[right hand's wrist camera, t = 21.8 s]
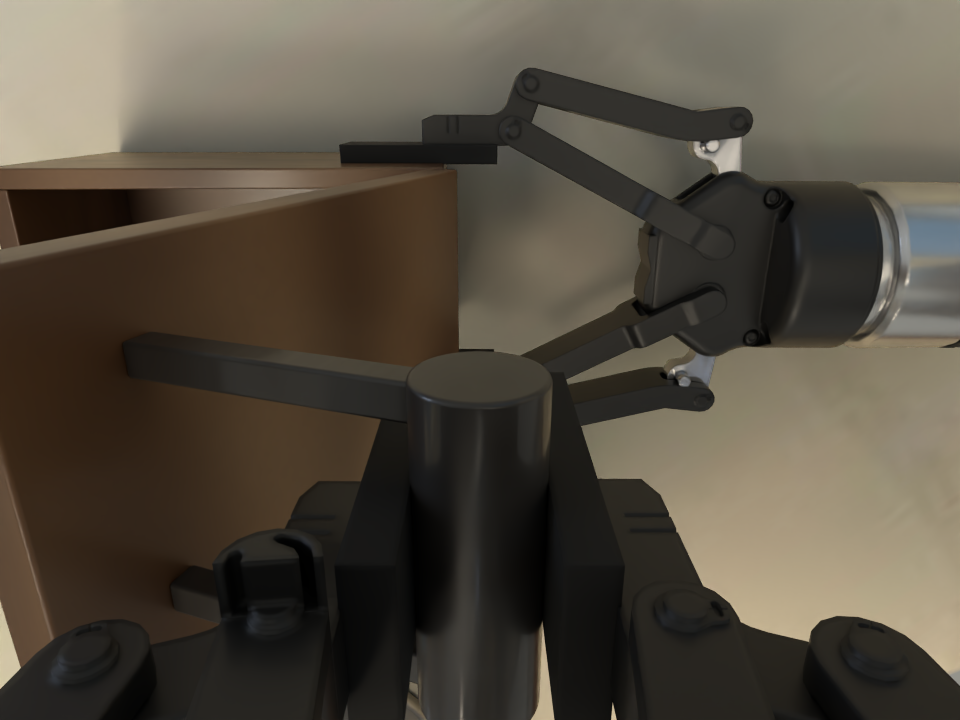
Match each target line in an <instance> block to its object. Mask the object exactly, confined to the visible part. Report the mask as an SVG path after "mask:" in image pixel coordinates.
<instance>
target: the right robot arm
mask: <svg viewBox="0 0 960 720" xmlns="http://www.w3.org/2000/svg"><path fill="white" fill-rule="evenodd" d="M549 373H550V374H551V377H552V380H553V392H552V415H551V438H550V461H549V481H548V504H547V527H546V551H545V574H544V598H543V629H544V637H545V645H546V654H547V662H548V670H549V678H550V686H551V695H552V703H553V711H554V719H555V720H611V714H612V703H613V705H614V710H615V714H616V718H617V720H960V686H959V685H958V684H957V683H956V682H955V681H954V680H953V679H952V678H951V677H950V676H949V675H948V674H947V673H946V672H945V671H944V670H943V669H942V668H941V667H940V666H939V665H938V664H937V663H936V662H935V661H934V660H933V659H932V658H931V657H930V656H929V655H928V654H927V653H926V652H925V651H924V650H923V649H922V648H921V647H919V646H918V645H917V644H915V643H914V642H913V641H912V640H910V639H909V638H908V637H907V636H905V635H903V634H901V633H899V632H897V631H895V630H893V629H891V628H889V627H887V626H885V625H883V624H881V623H878V622H874V621H870V620H867V619H863V618H860V617H845V616H836V617H832V618H829V619H825V620H822V621H820V622H819V623H818V624H817V625H816V626H815V627H814V629H813V630H812V631H811V635H810V639H809V642H807V641H802V640H798V639H794V638H790V637H785V636H781V635H777V634H772V633H768V632H765V631H762V630H759V629H755V628H752V627H750V626H748V625H745V624H743V623H741V622H740V619H739V617H738V616H737V614H736V612H735V611H734V609H733V608H732V606H731V605H730V603H729V602H727V601H726V600H725V599H724V598H722V597H721V596H720V595H719V594H717V593H716V592H715V591H712V590H710V589H708V588H706V587H703V585H702V583H701V581H700V579H699V576H698V574H697V572H696V570H695V568H694V566H693V564H692V561H691V559H690V557H689V555H688V553H687V551H686V549H685V547H684V544H683V542H682V540H681V538H680V536H679V534H678V532H676V527H675V525H674V523H673V521H672V519H671V517H669V512H668V510H667V508H666V506H665V504H664V502H663V500H662V497H661V495H660V494H659V493H657V492H656V491H655V490H654V489H653V488H651V487H650V486H649V485H648V484H647V483H645V482H644V481H643V480H642V479H597V476H596V472H595V469H594V466H593V463H592V460H591V457H590V454H589V450H588V447H587V444H586V441H585V438H584V435H583V432H582V428H581V425H580V422H579V419H578V416H577V413H576V410H575V407H574V403H573V400H572V397H571V394H570V391H569V388H568V385H567V381H566V378H565V375H564V372H549ZM212 567H213V573H214V579H215V584H216V590H217V596H218V602H219V608H220V614H221V621H220V623H219V625H218V626H216V627H213V628H211V629H209V630H207V631H203V632H200V633H197V634H194V635H190V636H186V637H182V638H177V639H173V640H169V641H165V642H160V643H156V644H152V645H151V643H150V638H149V634H148V633H147V632H146V631H145V629H144V628H143V627H142V626H141V625H140V624H138V623H135V622H132V621H128V620H125V619H112V620H100V621H96V622H93V623H89V624H86V625H82V626H78V627H76V628H74V629H72V630H70V631H68V632H66V633H64V634H62V635H60V636H58V637H56V638H55V639H53V640H52V641H51V642H50V643H48V644H47V645H46V646H45V647H43V648H42V649H41V650H39V651H38V652H37V653H36V654H35V655H34V656H33V657H32V658H31V659H30V660H29V661H28V662H27V663H26V664H25V665H24V666H23V667H22V668H21V669H20V670H19V671H18V672H17V673H16V674H15V675H14V676H13V677H12V678H11V679H10V680H9V681H8V682H7V683H6V684H5V685H4V686H3V687H2V688H1V689H0V720H343V719H344V714H345V710H346V705H347V710H348V720H405V714H406V706H407V698H408V690H409V681H410V673H411V665H412V657H413V649H414V641H415V632H416V612H415V587H414V563H413V539H412V514H411V490H410V481H409V456H408V431H407V424H405V423H399V422H393V421H387V420H380V424H379V427H378V430H377V433H376V436H375V439H374V442H373V446H372V449H371V452H370V455H369V458H368V461H367V464H366V467H365V471H364V474H363V477H362V480H361V481H318V482H317V483H316V484H314V485H313V486H312V487H311V488H310V489H308V490H307V491H306V492H305V493H304V494H302V495H301V496H300V497H299V499H298V501H297V503H296V505H295V507H294V510H293V512H292V514H291V519H289V520H288V522H287V525H286V527H285V529H281V528H277V529H271V530H265V531H259V532H255V533H253V534H250V535H248V536H245V537H242V538H240V539H237V540H236V541H235V542H233V543H232V544H230V545H229V546H227V547H226V548H224V549H223V550H222V551H221V552H220V553H219V555H218V556H217V557H216V559H215V560H214V562H213V563H212Z"/></svg>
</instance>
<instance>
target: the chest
mask: <svg viewBox="0 0 960 720" xmlns="http://www.w3.org/2000/svg"><path fill="white" fill-rule="evenodd" d="M427 169H447V164H443V163H341V161H340V152H112V153H104V154H96V155H87V156H79V157H71V158H63V159H54V160H46V161H38V162H30V163H22V164H13V165H5V166H0V246H1V249H6V248H11V247H16V246H22V245H27V244H32V243H38V242H43V241H48V240H54V239H59V238H64V237H70V236H75V235H80V234H86V233H91V232H96V231H102V230H107V229H113V228H118V227H123V226H129V225H134V224H139V223H145V222H150V221H155V220H161V219H166V218H171V217H177V216H182V215H187V214H193V213H198V212H203V211H209V210H214V209H219V208H225V207H230V206H235V205H241V204H246V203H251V202H257V201H262V200H267V199H273V198H278V197H283V196H289V195H294V194H299V193H305V192H310V191H315V190H321V189H326V188H331V187H337V186H342V185H347V184H353V183H358V182H363V181H369V180H374V179H379V178H385V177H390V176H395V175H401V174H406V173H411V172H417V171H422V170H427Z"/></svg>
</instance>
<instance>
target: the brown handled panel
mask: <svg viewBox="0 0 960 720" xmlns="http://www.w3.org/2000/svg"><path fill="white" fill-rule="evenodd" d="M552 392H553V380H552V377H551V374H550V373H549V371H548V370H547V369H546V368H545V367H544V366H542V365H541V364H539V363H537V362H535V361H533V360H531V359H528V358H525V357H521V356H517V355H512V354H507V353H501V352H489V351H468V352H459V326H458V227H457V171H456V170H453V169H427V170H422V171H417V172H411V173H406V174H401V175H395V176H390V177H385V178H379V179H374V180H369V181H363V182H358V183H353V184H347V185H342V186H337V187H331V188H326V189H321V190H315V191H310V192H305V193H299V194H294V195H289V196H283V197H278V198H273V199H267V200H262V201H257V202H251V203H246V204H241V205H235V206H230V207H225V208H219V209H214V210H209V211H203V212H198V213H193V214H187V215H182V216H177V217H171V218H166V219H161V220H155V221H150V222H145V223H139V224H134V225H129V226H123V227H118V228H113V229H107V230H102V231H96V232H91V233H86V234H80V235H75V236H70V237H64V238H59V239H54V240H48V241H43V242H38V243H32V244H27V245H22V246H16V247H11V248H6V249H0V602H1V605H2V608H3V611H4V615H5V618H6V621H7V624H8V628H9V631H10V634H11V637H12V641H13V644H14V647H15V650H16V654H17V657H18V660H19V663H20V666H21V668H22V667H23V666H24V665H25V664H26V663H27V662H28V661H29V660H30V659H31V658H32V657H33V656H34V655H35V654H36V653H37V652H38V651H39V650H41V649H42V648H43V647H45V646H46V645H47V644H48V643H50V642H51V641H52V640H53V639H55V638H56V637H58V636H60V635H62V634H64V633H66V632H68V631H70V630H72V629H74V628H76V627H78V626H82V625H86V624H89V623H93V622H96V621H100V620H112V619H125V620H128V621H132V622H135V623H138V624H140V625H141V626H142V627H143V628H144V629H145V631H146V632H147V633H148V634H149V638H150V643H151V645H152V644H156V643H160V642H165V641H169V640H173V639H177V638H182V637H186V636H190V635H194V634H197V633H200V632H203V631H207V630H209V629H211V628H213V627H216V626H218V625H219V623H220V621H221V614H220V608H219V602H218V596H217V590H216V584H215V579H214V573H213V567H212V563H213V562H214V560H215V559H216V557H217V556H218V555H219V553H220V552H221V551H222V550H223V549H224V548H226V547H227V546H229V545H230V544H232V543H233V542H235V541H236V540H237V539H240V538H242V537H245V536H248V535H250V534H253V533H255V532H259V531H265V530H271V529H277V528H281V529H285V527H286V525H287V522H288V520H289V519H291V514H292V512H293V510H294V507H295V505H296V503H297V501H298V499H299V497H300V496H301V495H302V494H304V493H305V492H306V491H307V490H308V489H310V488H311V487H312V486H313V485H314V484H316V483H317V482H318V481H361V480H362V477H363V474H364V471H365V467H366V464H367V461H368V458H369V455H370V452H371V449H372V446H373V442H374V439H375V436H376V433H377V430H378V427H379V424H380V420H387V421H393V422H399V423H405V424H407V431H408V456H409V481H410V490H411V514H412V539H413V563H414V587H415V612H416V632H415V641H414V649H413V657H412V665H411V673H410V681H409V682H413V683H416V684H418V700H419V705H420V708H421V710H422V713H423V714H424V716H425V718H426V719H427V720H531V718H532V717H533V715H534V714H535V711H536V709H537V706H538V702H539V692H540V669H541V646H542V623H543V598H544V574H545V551H546V527H547V504H548V481H549V461H550V438H551V415H552Z"/></svg>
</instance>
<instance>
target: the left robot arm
mask: <svg viewBox="0 0 960 720" xmlns="http://www.w3.org/2000/svg"><path fill="white" fill-rule="evenodd" d="M538 104H540V105H544V106H547V107H551V108H555V109H559V110H563V111H566V112H570V113H574V114H578V115H581V116H585V117H589V118H593V119H597V120H600V121H604V122H608V123H612V124H616V125H619V126H623V127H627V128H631V129H634V130H638V131H642V132H646V133H650V134H653V135H657V136H661V137H666V138H671V139H678V140H684V141H687V147H688V151H689V153H690V154H691V155H692V156H694V157H696V158H700V159H705V160H706V161H708V163H709V164H710V166H711V170H712V173H710V174H708V175H707V176H705V177H704V178H702V179H701V180H700V181H698V182H697V183H695V184H694V185H692V186H691V187H689V188H688V189H686V190H685V191H683V192H682V193H681V194H679V195H678V196H676V197H675V198H673V199H672V200H668V199H666V198H665V197H663V196H661V195H659V194H657V193H655V192H654V191H652V190H650V189H648V188H646V187H644V186H643V185H641V184H639V183H637V182H635V181H634V180H632V179H630V178H628V177H627V176H625V175H623V174H621V173H619V172H618V171H616V170H614V169H612V168H610V167H609V166H607V165H605V164H603V163H602V162H600V161H598V160H596V159H594V158H593V157H591V156H589V155H587V154H585V153H584V152H582V151H580V150H578V149H576V148H575V147H573V146H571V145H569V144H568V143H566V142H564V141H562V140H560V139H559V138H557V137H555V136H553V135H551V134H550V133H548V132H546V131H544V130H543V129H541V128H539V127H537V126H535V125H534V124H532V123H531V122H532V120H533V117H534V114H535V112H536V109H537V106H538ZM752 124H753V117H752V114H751V112H750V111H749V110H748V109H746V108H745V107H715V108H706V109H698V110H689V109H686V108H682V107H678V106H675V105H671V104H667V103H663V102H660V101H656V100H652V99H648V98H645V97H641V96H637V95H634V94H630V93H626V92H622V91H619V90H615V89H611V88H608V87H604V86H600V85H596V84H593V83H589V82H585V81H582V80H578V79H574V78H570V77H567V76H563V75H559V74H555V73H552V72H548V71H544V70H541V69H537V68H527V69H524V70H523V71H521V72H520V73H519V74H518V75H517V76H516V78H515V80H514V83H513V86H512V89H511V92H510V95H509V97H508V100H507V103H506V105H505V107H504V108H503V109H502V110H501V111H500V112H498V113H496V114H493V115H433V116H430V117H428V118H426V119H423V120H422V141H423V142H349V143H345V144H341V145H339V146H340V161H341V163H443V164H497V146H510V147H512V148H514V149H516V150H517V151H519V152H521V153H523V154H525V155H526V156H528V157H530V158H532V159H534V160H536V161H537V162H539V163H541V164H543V165H545V166H546V167H548V168H550V169H552V170H554V171H556V172H557V173H559V174H561V175H563V176H565V177H566V178H568V179H570V180H572V181H574V182H576V183H577V184H579V185H581V186H583V187H585V188H586V189H588V190H590V191H592V192H594V193H596V194H597V195H599V196H601V197H603V198H605V199H607V200H608V201H610V202H612V203H614V204H616V205H617V206H619V207H621V208H623V209H625V210H627V211H628V212H630V213H632V214H634V215H635V216H637V217H639V218H641V219H642V220H644V221H646V222H645V224H644V226H643V228H639V237H638V248H639V253H640V259H641V262H640V265H639V268H638V270H637V273H636V276H635V284H634V294H635V295H636V297H634V298H632V299H630V300H628V301H625V302H623V303H622V304H620V305H618V306H617V307H616V309H615V310H614V311H612V312H610V313H608V314H606V315H604V316H602V317H600V318H598V319H596V320H594V321H592V322H590V323H587V324H585V325H583V326H581V327H579V328H577V329H575V330H573V331H571V332H569V333H567V334H564V335H562V336H560V337H558V338H556V339H554V340H552V341H550V342H548V343H546V344H544V345H542V346H539V347H537V348H535V349H533V350H531V351H529V352H527V353H525V354H523V355H521V357H525V358H528V359H531V360H533V361H535V362H537V363H539V364H541V365H542V366H544V367H545V368H546V369H547V370H548V371H549V372H564V375H565V378H566V379H568V378H570V377H573V376H575V375H577V374H579V373H581V372H583V371H585V370H588V369H590V368H592V367H594V366H596V365H598V364H600V363H603V362H605V361H607V360H609V359H611V358H613V357H615V356H618V355H620V354H622V353H624V352H626V351H628V350H630V349H633V348H644V347H647V346H649V345H651V344H654V343H656V342H658V341H660V340H662V339H664V338H666V337H669V336H671V335H673V336H675V337H676V338H677V339H679V340H680V341H681V342H683V343H684V344H686V345H687V346H688V347H690V349H689V351H688V353H687V354H686V355H685V356H683V357H681V358H675V359H670V360H668V361H667V362H666V364H665V366H664V367H650V368H643V369H638V370H633V371H628V372H624V373H619V374H615V375H610V376H606V377H601V378H597V379H592V380H588V381H583V382H578V383H574V384H569V385H568V388H569V391H570V394H571V397H572V400H573V403H574V407H575V410H576V413H577V416H578V419H579V422H580V425H581V426H583V425H588V424H592V423H597V422H602V421H606V420H611V419H615V418H620V417H625V416H629V415H634V414H639V413H643V412H648V411H653V410H657V409H662V408H670V409H680V410H689V411H705V410H708V409H709V408H710V407H711V406H712V405H713V403H714V395H713V393H712V391H711V390H710V389H709V387H708V386H709V382H710V378H711V374H712V370H713V366H714V362H715V358H716V356H719V355H722V354H724V353H726V352H728V351H730V350H732V349H735V348H739V347H766V348H768V347H778V348H831V347H836V346H839V345H841V344H844V345H846V346H848V347H853V348H900V347H941V348H955V347H960V182H863V183H860V184H858V185H856V186H855V185H853V184H852V183H849V182H843V181H757V180H755V179H753V178H751V177H750V176H748V175H747V174H745V173H743V172H741V164H742V136H744V135H746V134H747V133H748V132H749V131H750V129H751V127H752ZM468 351H489V352H494V349H459V352H468ZM343 720H348V710H347V705H346V710H345V714H344V719H343ZM405 720H427V719H426V718H425V716H424V714H423V713H422V710H421V708H420V705H419V700H418V699H417V698H416V697H414V696H413V695H412V694H411V693H409V692H408V698H407V706H406V714H405Z"/></svg>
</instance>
